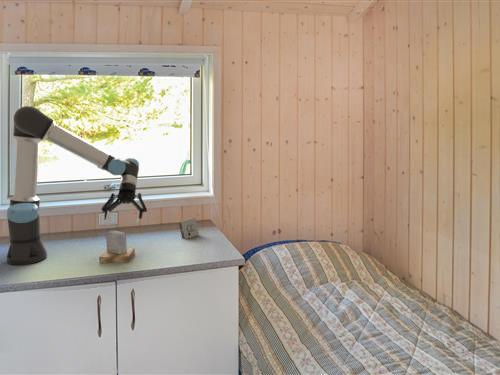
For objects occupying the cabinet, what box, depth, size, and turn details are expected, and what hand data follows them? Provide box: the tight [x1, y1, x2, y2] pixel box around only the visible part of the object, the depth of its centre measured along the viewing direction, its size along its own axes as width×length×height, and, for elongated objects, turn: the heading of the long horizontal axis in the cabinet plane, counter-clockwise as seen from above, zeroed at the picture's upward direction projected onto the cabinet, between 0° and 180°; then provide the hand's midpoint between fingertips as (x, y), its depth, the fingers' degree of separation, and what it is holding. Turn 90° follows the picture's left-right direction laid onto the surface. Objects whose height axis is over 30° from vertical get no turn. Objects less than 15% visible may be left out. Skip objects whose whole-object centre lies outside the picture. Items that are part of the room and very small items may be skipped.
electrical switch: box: [178, 217, 200, 240], centre depth 211 cm, size 9×5×9 cm, turn 141°
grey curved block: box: [105, 230, 128, 255], centre depth 178 cm, size 8×4×9 cm, turn 57°
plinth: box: [98, 247, 136, 264], centre depth 178 cm, size 12×12×2 cm
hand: (122, 224), depth 187 cm, fingers open, 13 cm apart
